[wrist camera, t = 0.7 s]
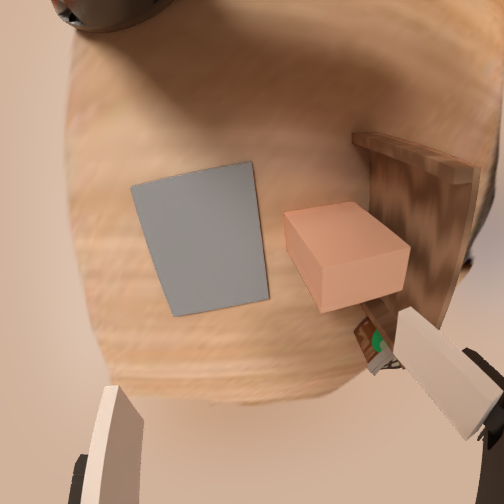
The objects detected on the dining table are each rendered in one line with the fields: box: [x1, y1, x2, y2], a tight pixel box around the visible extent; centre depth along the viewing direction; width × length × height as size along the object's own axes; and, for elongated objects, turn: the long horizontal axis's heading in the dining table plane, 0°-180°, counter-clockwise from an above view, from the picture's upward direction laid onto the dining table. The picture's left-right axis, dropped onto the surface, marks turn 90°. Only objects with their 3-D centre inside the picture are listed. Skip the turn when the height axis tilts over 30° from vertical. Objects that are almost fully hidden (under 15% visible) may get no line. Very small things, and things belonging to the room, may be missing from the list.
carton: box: [284, 201, 411, 314], centre depth 29 cm, size 5×9×12 cm, turn 98°
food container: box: [354, 317, 402, 376], centre depth 41 cm, size 12×6×10 cm, turn 78°
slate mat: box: [131, 162, 269, 317], centre depth 33 cm, size 18×13×1 cm
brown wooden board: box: [352, 132, 481, 369], centre depth 28 cm, size 22×4×16 cm, turn 8°
